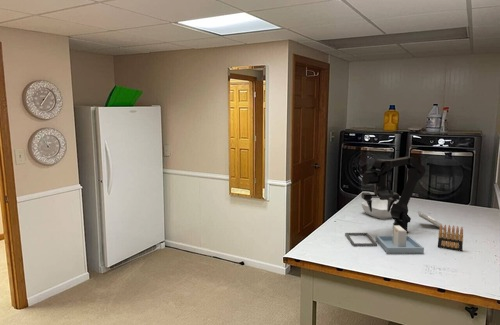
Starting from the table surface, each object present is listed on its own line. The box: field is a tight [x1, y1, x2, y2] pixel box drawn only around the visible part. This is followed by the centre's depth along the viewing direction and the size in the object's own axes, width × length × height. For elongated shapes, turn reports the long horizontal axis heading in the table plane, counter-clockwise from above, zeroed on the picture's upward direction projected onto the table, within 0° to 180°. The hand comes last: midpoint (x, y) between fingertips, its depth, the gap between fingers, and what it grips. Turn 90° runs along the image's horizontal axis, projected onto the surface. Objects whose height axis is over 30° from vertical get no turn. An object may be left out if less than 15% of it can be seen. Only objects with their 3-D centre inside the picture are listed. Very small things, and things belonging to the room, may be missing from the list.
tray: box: [375, 235, 425, 255], centre depth 184 cm, size 17×17×3 cm
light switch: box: [417, 210, 444, 231], centre depth 215 cm, size 8×6×14 cm
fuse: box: [391, 224, 408, 247], centre depth 183 cm, size 3×9×9 cm, turn 179°
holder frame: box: [344, 232, 378, 247], centre depth 194 cm, size 12×17×1 cm
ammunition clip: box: [437, 223, 464, 252], centre depth 181 cm, size 11×2×12 cm, turn 58°
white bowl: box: [361, 199, 397, 220], centre depth 239 cm, size 20×20×8 cm
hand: (379, 211), depth 200 cm, fingers open, 9 cm apart
